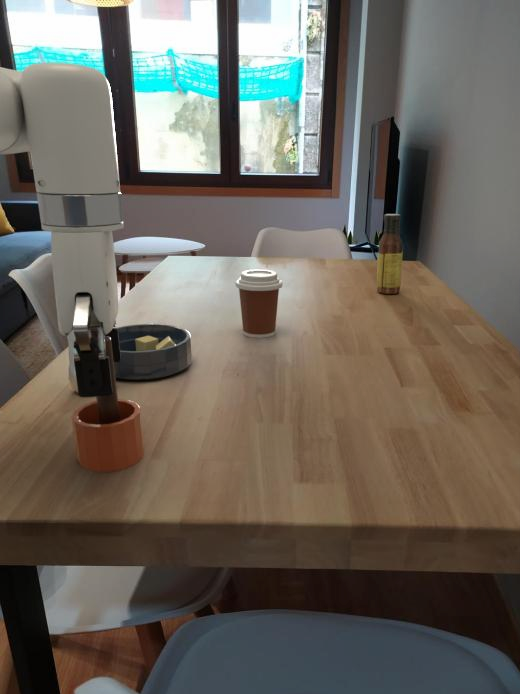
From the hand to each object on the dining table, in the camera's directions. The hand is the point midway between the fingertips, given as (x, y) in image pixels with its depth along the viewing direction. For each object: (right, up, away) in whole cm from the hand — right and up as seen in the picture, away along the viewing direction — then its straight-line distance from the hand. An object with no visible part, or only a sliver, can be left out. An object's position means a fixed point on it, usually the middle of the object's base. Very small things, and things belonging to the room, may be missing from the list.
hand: (101, 377), depth 59 cm
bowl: (-4, +2, +32) cm, 32 cm away
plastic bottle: (-9, -2, +22) cm, 23 cm away
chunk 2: (+1, +5, +31) cm, 31 cm away
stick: (0, -9, +4) cm, 10 cm away
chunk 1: (-5, +5, +34) cm, 35 cm away
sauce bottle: (+47, +23, +85) cm, 100 cm away
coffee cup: (+14, +9, +50) cm, 53 cm away
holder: (0, -9, +4) cm, 10 cm away
